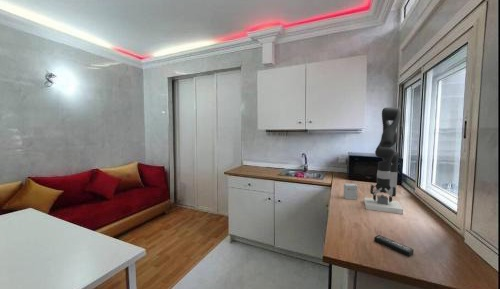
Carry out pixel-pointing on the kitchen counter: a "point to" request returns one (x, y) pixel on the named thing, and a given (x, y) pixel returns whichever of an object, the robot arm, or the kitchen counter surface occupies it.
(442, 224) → the kitchen counter surface
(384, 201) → the plug
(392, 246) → the multiport hub
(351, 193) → the small box
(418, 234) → the kitchen counter surface
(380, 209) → the socket plate
